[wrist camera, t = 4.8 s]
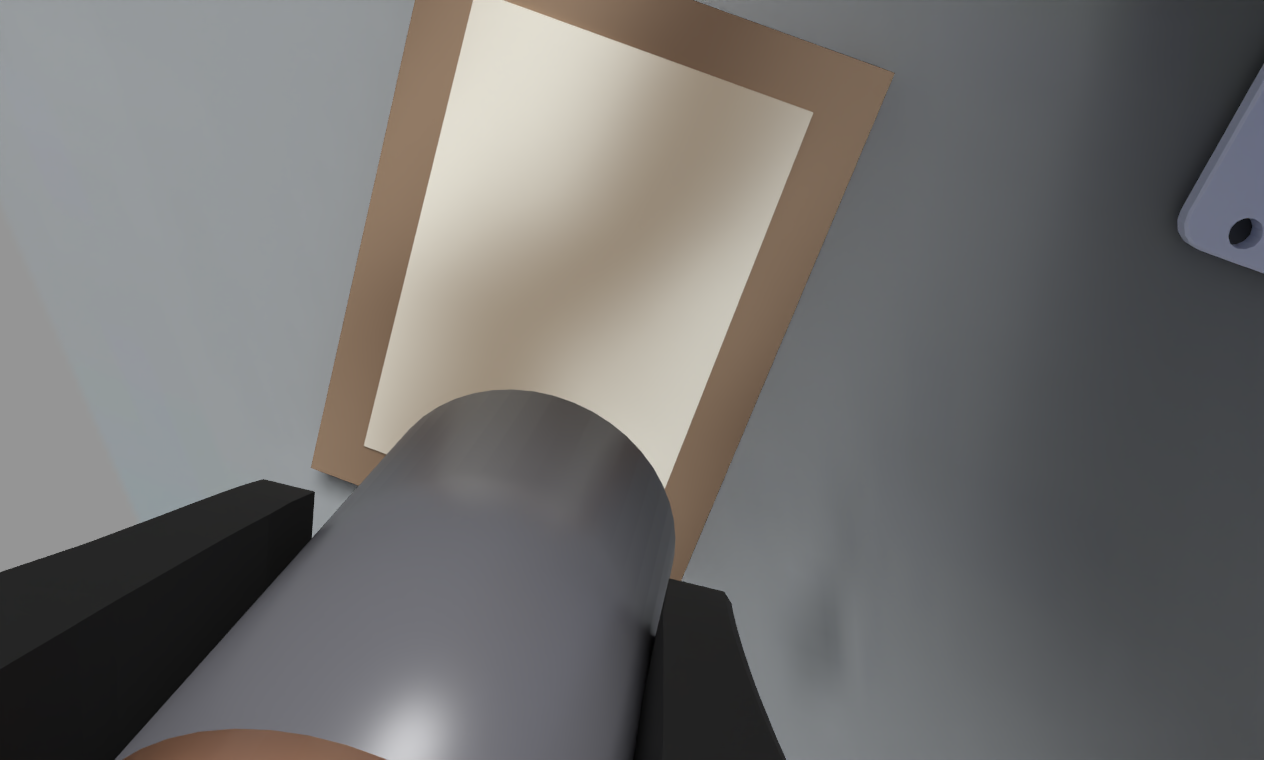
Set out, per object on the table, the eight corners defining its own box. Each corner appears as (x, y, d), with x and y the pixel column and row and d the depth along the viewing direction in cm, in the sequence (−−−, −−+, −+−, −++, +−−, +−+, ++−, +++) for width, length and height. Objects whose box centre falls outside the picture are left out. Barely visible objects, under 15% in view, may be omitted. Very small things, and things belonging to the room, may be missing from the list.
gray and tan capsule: (737, 567, 12) (665, 1425, 5) (513, 699, 14) (187, 1528, 6) (538, 328, 11) (83, 918, 4) (320, 495, 13) (-319, 1164, 5)
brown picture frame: (888, 70, 16) (895, 73, 15) (676, 576, 20) (671, 605, 19) (455, -86, 16) (433, -93, 15) (332, 447, 21) (308, 470, 20)
